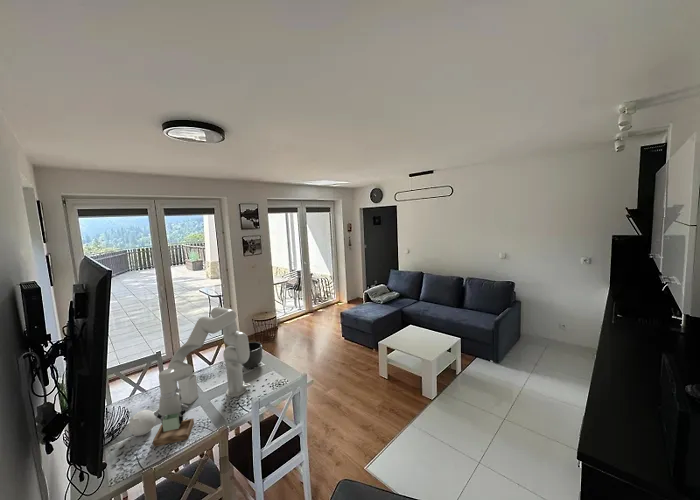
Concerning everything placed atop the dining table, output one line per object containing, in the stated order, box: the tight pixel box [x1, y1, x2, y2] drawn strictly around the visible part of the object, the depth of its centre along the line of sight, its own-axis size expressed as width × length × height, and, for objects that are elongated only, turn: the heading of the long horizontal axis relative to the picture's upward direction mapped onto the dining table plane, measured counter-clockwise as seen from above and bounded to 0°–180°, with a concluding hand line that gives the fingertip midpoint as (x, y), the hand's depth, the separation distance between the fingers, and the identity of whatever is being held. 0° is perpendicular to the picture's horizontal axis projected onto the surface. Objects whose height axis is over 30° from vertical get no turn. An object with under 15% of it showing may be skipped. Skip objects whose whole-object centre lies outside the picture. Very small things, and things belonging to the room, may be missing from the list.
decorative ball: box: [128, 409, 157, 437], centre depth 156 cm, size 12×12×12 cm
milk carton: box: [177, 373, 199, 405], centre depth 182 cm, size 7×7×19 cm
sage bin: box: [161, 413, 180, 431], centre depth 153 cm, size 7×7×6 cm
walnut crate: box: [152, 418, 195, 448], centre depth 154 cm, size 16×12×3 cm
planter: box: [242, 341, 263, 370], centre depth 220 cm, size 17×17×16 cm
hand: (173, 423), depth 153 cm, fingers closed on sage bin, 7 cm apart
